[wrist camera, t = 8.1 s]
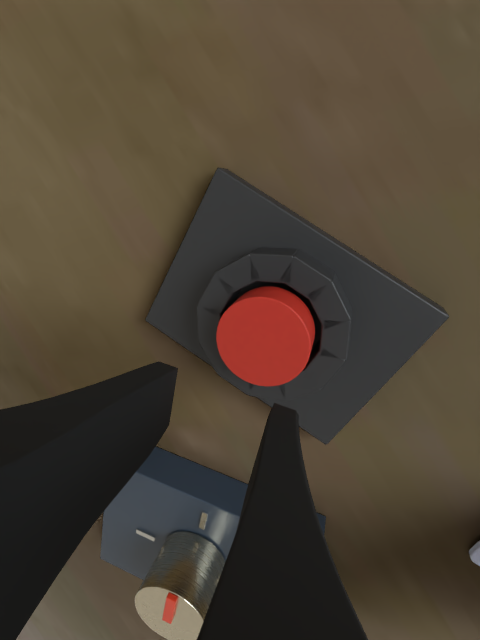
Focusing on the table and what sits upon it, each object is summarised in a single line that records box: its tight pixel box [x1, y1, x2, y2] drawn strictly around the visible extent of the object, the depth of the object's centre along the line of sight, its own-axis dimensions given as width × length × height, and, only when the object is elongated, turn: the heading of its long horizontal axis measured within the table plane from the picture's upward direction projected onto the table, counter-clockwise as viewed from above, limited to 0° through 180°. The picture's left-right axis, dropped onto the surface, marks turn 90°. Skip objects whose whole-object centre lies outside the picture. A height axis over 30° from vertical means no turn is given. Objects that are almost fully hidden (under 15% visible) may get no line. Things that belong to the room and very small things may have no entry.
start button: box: [216, 286, 315, 386], centre depth 15 cm, size 4×4×2 cm
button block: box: [145, 168, 449, 444], centre depth 17 cm, size 12×9×3 cm
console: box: [100, 446, 326, 580], centre depth 24 cm, size 14×10×3 cm
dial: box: [135, 531, 225, 640], centre depth 21 cm, size 4×4×4 cm
